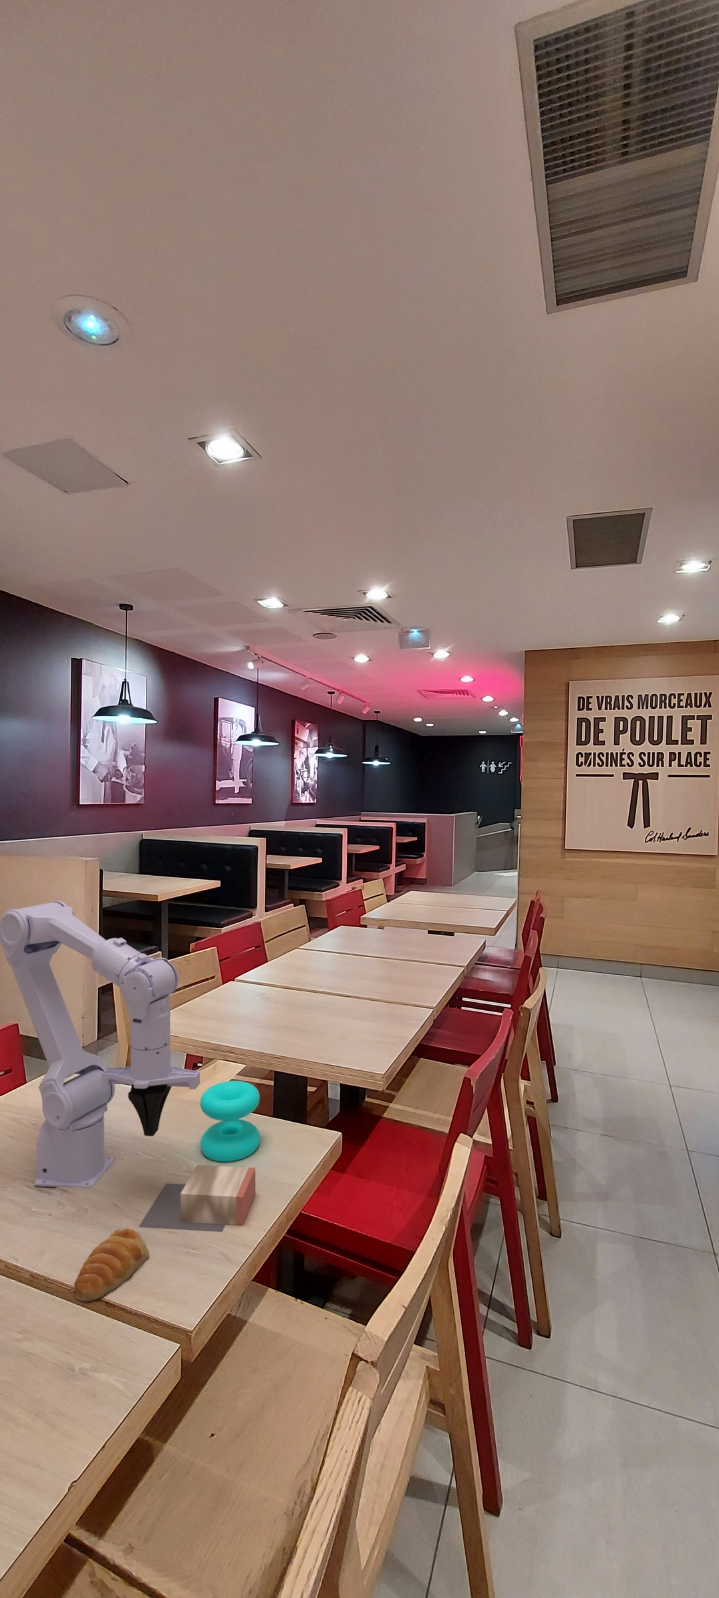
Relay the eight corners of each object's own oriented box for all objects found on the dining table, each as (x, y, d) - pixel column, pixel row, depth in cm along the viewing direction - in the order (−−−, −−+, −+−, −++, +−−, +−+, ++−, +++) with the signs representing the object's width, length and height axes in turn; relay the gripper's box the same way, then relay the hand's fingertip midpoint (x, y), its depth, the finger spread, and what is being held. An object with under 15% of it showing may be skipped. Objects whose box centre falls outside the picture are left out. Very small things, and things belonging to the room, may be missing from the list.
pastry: (104, 1314, 76) (104, 1282, 76) (58, 1301, 78) (57, 1269, 78) (153, 1258, 85) (152, 1230, 85) (110, 1248, 87) (109, 1220, 87)
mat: (138, 1229, 91) (138, 1226, 91) (166, 1186, 101) (166, 1183, 101) (222, 1234, 89) (222, 1231, 89) (241, 1190, 99) (241, 1187, 99)
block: (180, 1193, 92) (242, 1197, 91) (197, 1165, 98) (255, 1168, 98) (180, 1221, 92) (243, 1225, 91) (197, 1191, 99) (255, 1194, 98)
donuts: (264, 1078, 116) (253, 1105, 106) (264, 1134, 116) (253, 1166, 106) (208, 1077, 116) (192, 1105, 106) (209, 1133, 116) (193, 1165, 106)
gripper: (90, 1052, 94) (91, 1145, 94) (188, 1055, 93) (188, 1149, 93) (113, 1033, 101) (114, 1120, 101) (204, 1036, 100) (204, 1124, 100)
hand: (151, 1132), depth 97 cm, fingers closed
